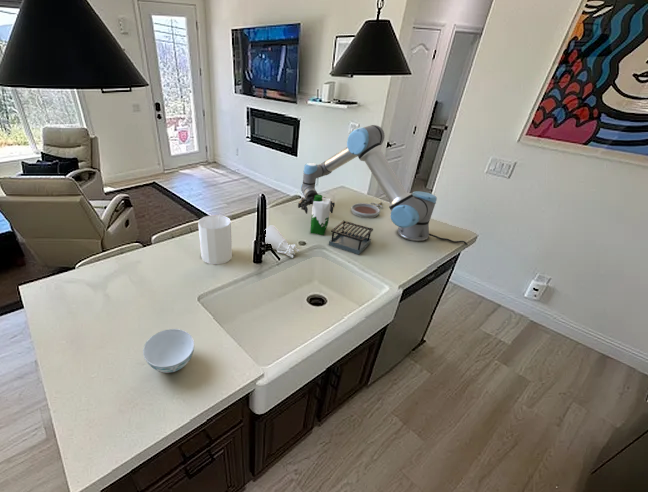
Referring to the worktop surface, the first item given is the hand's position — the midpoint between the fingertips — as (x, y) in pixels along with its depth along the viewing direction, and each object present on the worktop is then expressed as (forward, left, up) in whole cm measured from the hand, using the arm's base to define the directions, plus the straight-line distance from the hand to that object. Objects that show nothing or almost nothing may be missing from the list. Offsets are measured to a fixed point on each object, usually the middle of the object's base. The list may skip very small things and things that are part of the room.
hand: (319, 211), depth 173 cm
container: (+25, +54, -11) cm, 61 cm away
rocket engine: (+4, +33, -11) cm, 35 cm away
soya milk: (-2, +2, -11) cm, 11 cm away
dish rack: (-21, +4, -11) cm, 24 cm away
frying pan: (-14, -43, -11) cm, 47 cm away
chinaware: (-7, +110, -11) cm, 111 cm away
